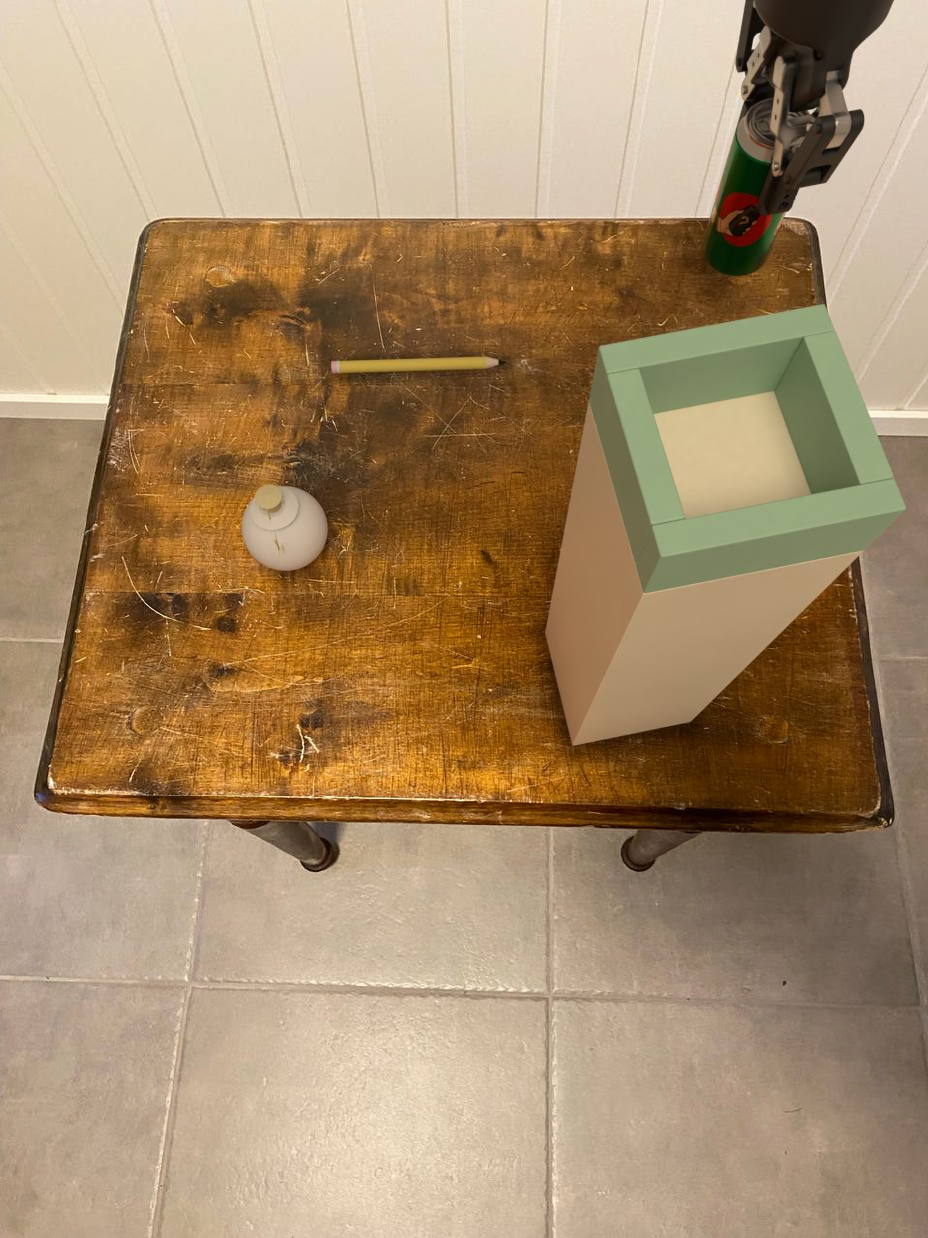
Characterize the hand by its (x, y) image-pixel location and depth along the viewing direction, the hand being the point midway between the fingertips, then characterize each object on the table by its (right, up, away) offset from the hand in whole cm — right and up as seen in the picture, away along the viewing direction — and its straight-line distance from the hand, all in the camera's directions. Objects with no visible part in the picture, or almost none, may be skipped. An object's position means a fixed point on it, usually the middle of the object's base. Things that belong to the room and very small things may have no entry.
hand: (759, 177), depth 61 cm
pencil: (-24, -11, +10) cm, 28 cm away
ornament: (-33, -26, +5) cm, 42 cm away
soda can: (0, -2, +7) cm, 8 cm away
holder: (-10, -35, +1) cm, 36 cm away
